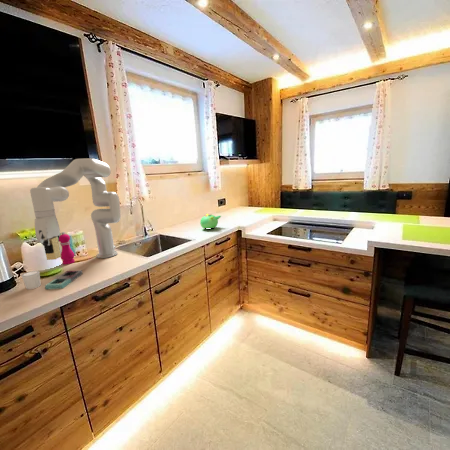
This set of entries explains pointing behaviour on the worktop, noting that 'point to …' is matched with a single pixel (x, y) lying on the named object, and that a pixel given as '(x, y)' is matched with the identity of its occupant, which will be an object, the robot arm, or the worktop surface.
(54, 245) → the nut block
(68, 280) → the teal and grey tray
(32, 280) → the white cylinder
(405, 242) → the worktop surface
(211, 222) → the green teapot
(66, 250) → the pepper mill
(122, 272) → the worktop surface
